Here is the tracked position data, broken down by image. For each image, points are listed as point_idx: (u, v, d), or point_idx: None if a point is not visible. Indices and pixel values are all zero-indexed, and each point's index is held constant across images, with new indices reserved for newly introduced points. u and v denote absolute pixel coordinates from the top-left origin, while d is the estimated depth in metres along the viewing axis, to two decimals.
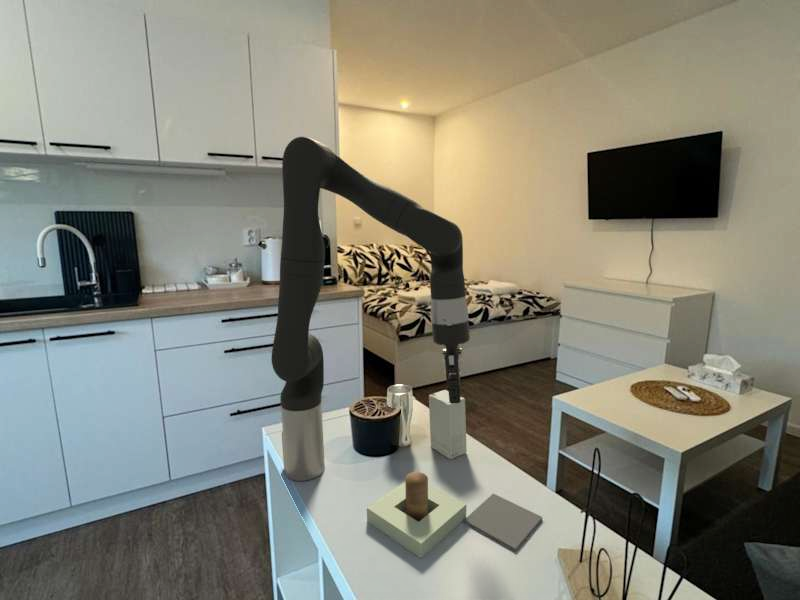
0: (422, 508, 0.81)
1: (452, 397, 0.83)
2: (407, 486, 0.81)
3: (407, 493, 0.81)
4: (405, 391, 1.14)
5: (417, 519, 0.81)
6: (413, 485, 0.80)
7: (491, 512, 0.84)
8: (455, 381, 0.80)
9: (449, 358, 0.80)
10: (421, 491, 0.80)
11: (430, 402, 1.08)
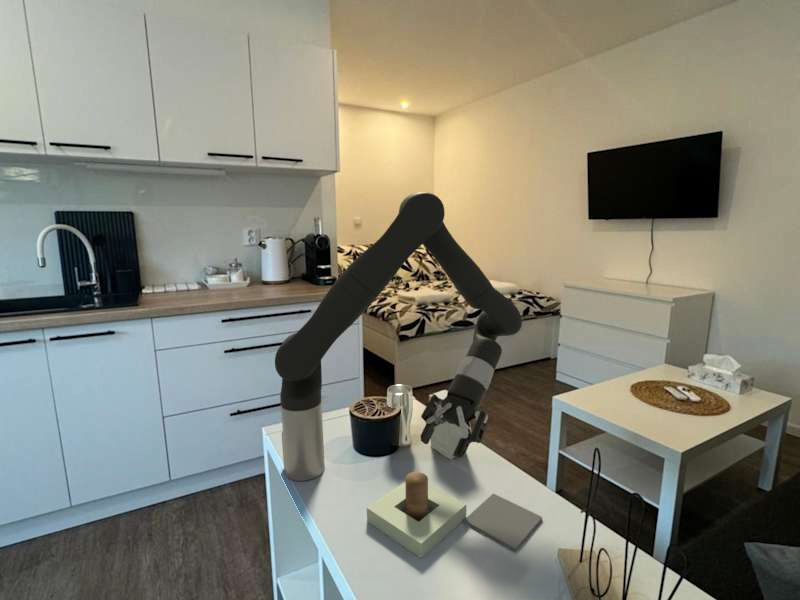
0: (422, 508, 0.81)
1: (462, 451, 0.84)
2: (407, 486, 0.81)
3: (407, 493, 0.81)
4: (405, 391, 1.14)
5: (417, 519, 0.81)
6: (413, 485, 0.80)
7: (491, 512, 0.84)
8: (479, 438, 0.84)
9: (486, 416, 0.86)
10: (421, 491, 0.80)
11: None
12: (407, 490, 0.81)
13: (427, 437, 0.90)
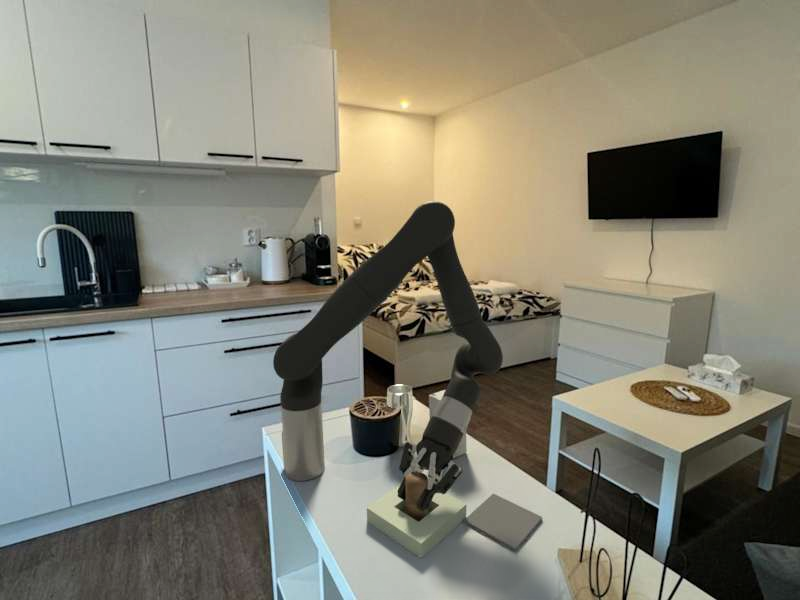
0: None
1: (426, 503, 0.79)
2: (407, 486, 0.81)
3: (407, 493, 0.81)
4: (405, 391, 1.14)
5: (417, 519, 0.81)
6: (413, 484, 0.80)
7: (491, 512, 0.84)
8: (444, 489, 0.80)
9: (458, 470, 0.80)
10: (421, 491, 0.80)
11: (430, 402, 1.08)
12: (407, 490, 0.81)
13: (405, 492, 0.83)
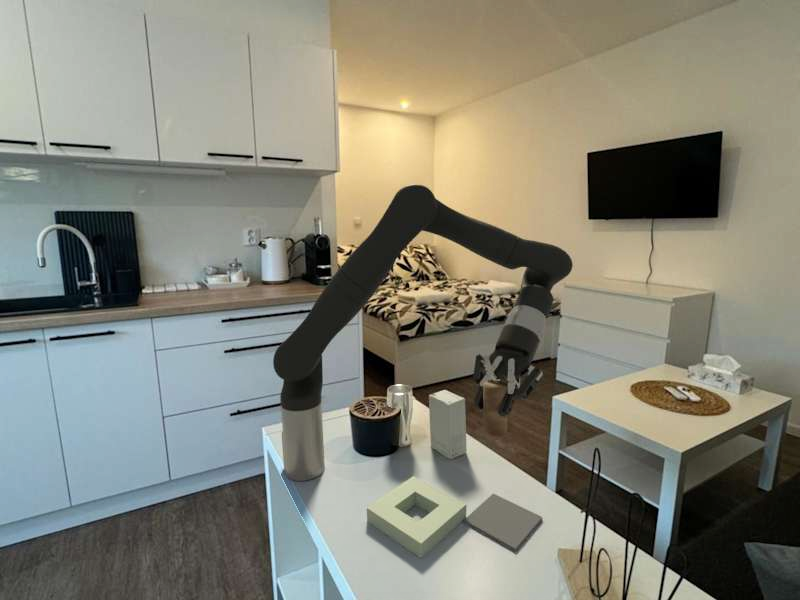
0: None
1: (508, 408, 0.75)
2: (487, 392, 0.77)
3: (486, 400, 0.77)
4: (405, 391, 1.14)
5: (498, 427, 0.77)
6: (493, 389, 0.76)
7: (491, 512, 0.84)
8: (526, 393, 0.76)
9: (540, 373, 0.76)
10: (502, 395, 0.76)
11: (430, 402, 1.08)
12: (486, 396, 0.77)
13: (482, 401, 0.79)
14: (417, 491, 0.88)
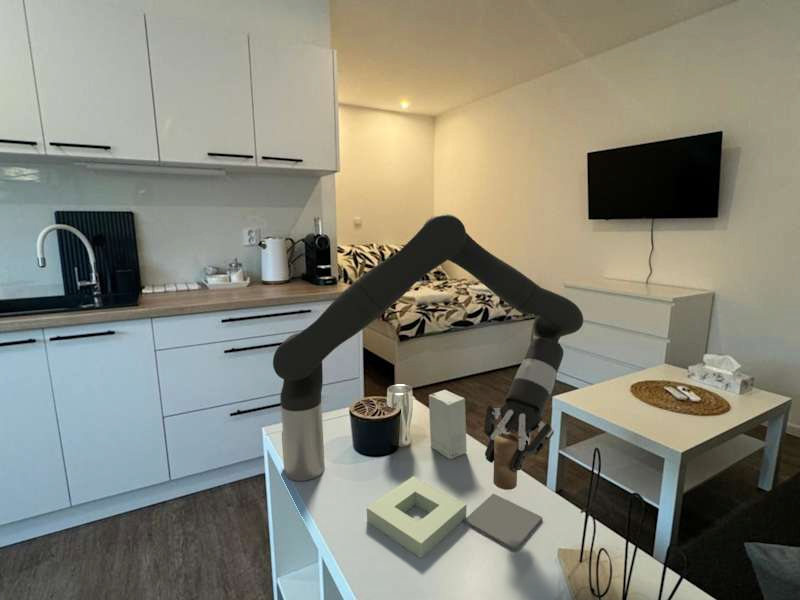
0: None
1: (519, 464, 0.77)
2: (498, 447, 0.79)
3: (497, 454, 0.79)
4: (405, 391, 1.14)
5: (508, 481, 0.79)
6: (505, 445, 0.78)
7: (491, 512, 0.84)
8: (537, 450, 0.78)
9: (550, 430, 0.78)
10: (513, 451, 0.78)
11: (430, 402, 1.08)
12: (497, 451, 0.79)
13: (493, 454, 0.81)
14: (417, 491, 0.88)
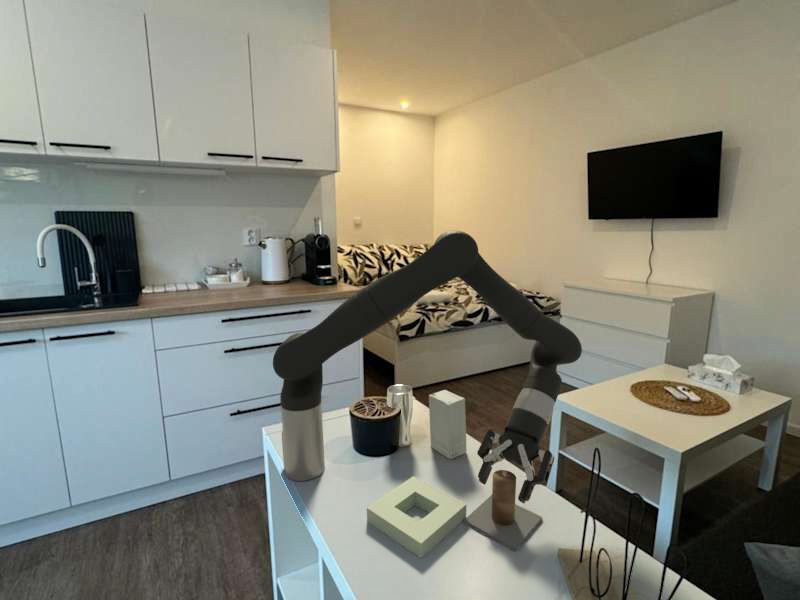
0: (511, 506, 0.80)
1: (528, 495, 0.77)
2: (497, 484, 0.80)
3: (496, 491, 0.81)
4: (405, 391, 1.14)
5: (506, 517, 0.80)
6: (503, 482, 0.79)
7: (491, 512, 0.84)
8: (545, 480, 0.78)
9: (552, 456, 0.80)
10: (511, 489, 0.79)
11: (430, 402, 1.08)
12: (496, 488, 0.80)
13: (485, 476, 0.84)
14: (417, 491, 0.88)
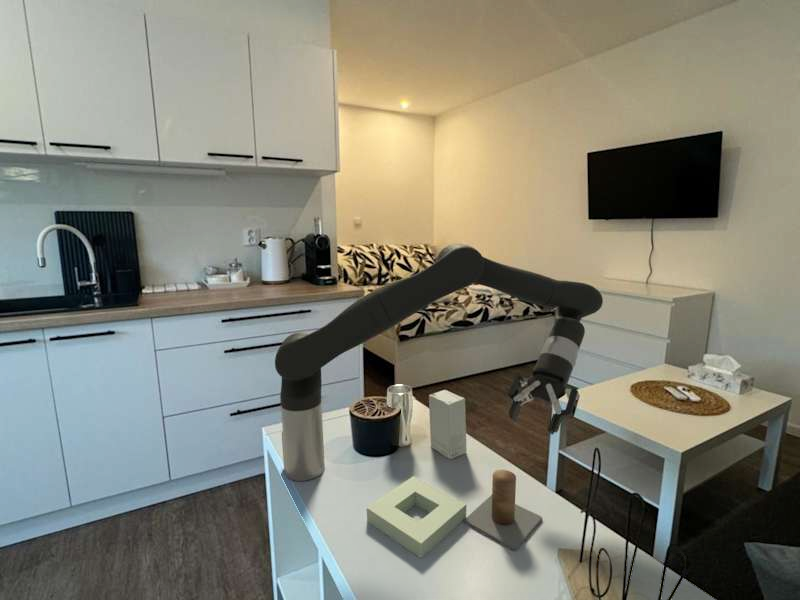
0: (511, 506, 0.80)
1: (556, 427, 0.85)
2: (496, 483, 0.80)
3: (495, 491, 0.81)
4: (405, 391, 1.14)
5: (506, 517, 0.80)
6: (503, 482, 0.79)
7: (491, 512, 0.84)
8: (572, 414, 0.86)
9: (577, 393, 0.87)
10: (511, 488, 0.80)
11: (430, 402, 1.08)
12: (496, 488, 0.80)
13: (515, 414, 0.92)
14: (417, 491, 0.88)
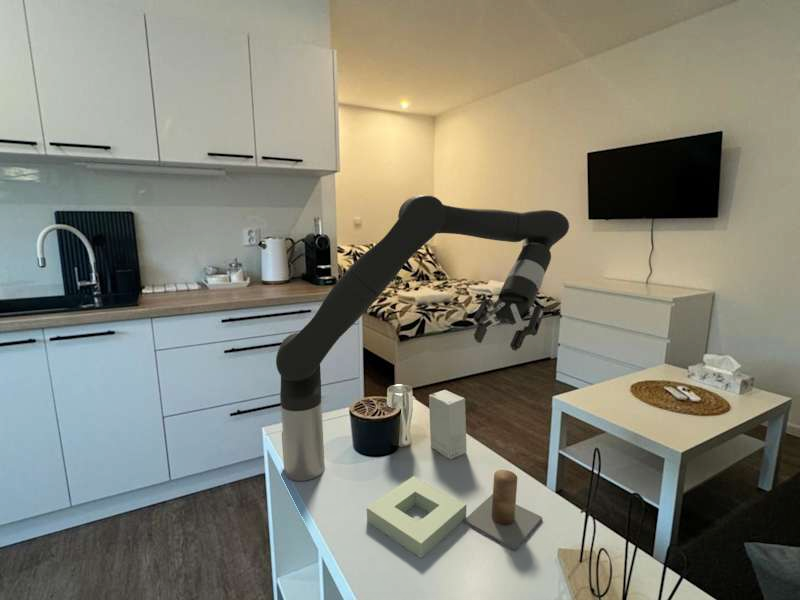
0: (511, 506, 0.80)
1: (519, 342, 0.85)
2: (498, 484, 0.80)
3: (497, 491, 0.80)
4: (405, 391, 1.14)
5: (506, 517, 0.80)
6: (504, 482, 0.79)
7: (491, 512, 0.84)
8: (535, 330, 0.86)
9: (541, 310, 0.87)
10: (512, 488, 0.79)
11: (430, 402, 1.08)
12: (497, 488, 0.80)
13: (481, 335, 0.92)
14: (417, 491, 0.88)
